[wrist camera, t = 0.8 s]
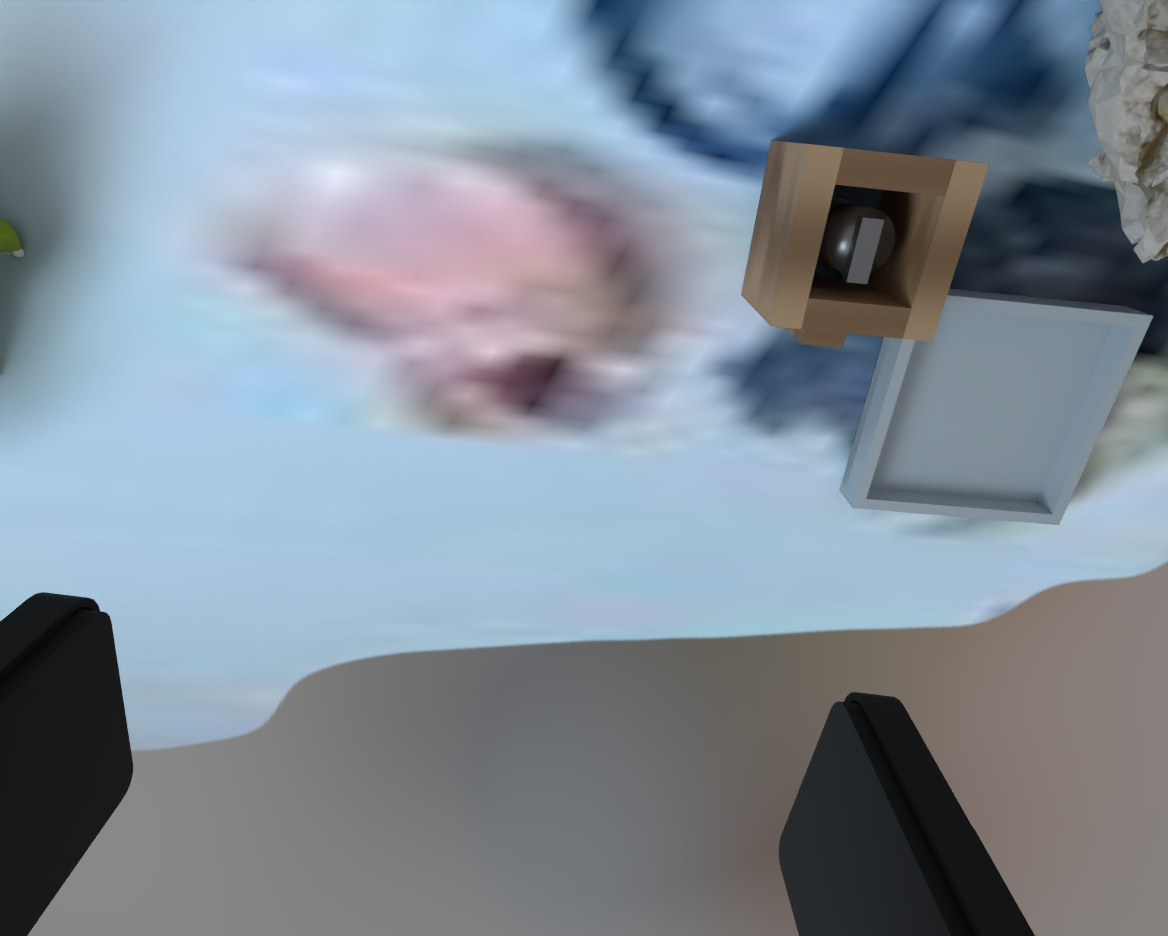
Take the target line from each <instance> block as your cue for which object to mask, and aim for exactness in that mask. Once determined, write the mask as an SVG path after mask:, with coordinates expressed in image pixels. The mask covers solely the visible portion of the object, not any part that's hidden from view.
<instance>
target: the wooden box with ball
mask: <svg viewBox="0 0 1168 936" xmlns="http://www.w3.org/2000/svg"><path fill="white" fill-rule="evenodd" d="M988 166H989V164H987V163H978V162H969V161H960V160H951V159H942V158H933V157H923V156H914V155H905V154H896V153H887V152H878V151H868V150H859V149H850V148H841V147H832V146H823V145H814V144H804V143H793V142H783V141H772V140H771V144H770V149H769V154H768V159H767V164H766V170H765V175H764V180H763V185H762V190H761V195H760V201H759V206H758V211H757V216H756V221H755V226H754V232H753V237H752V242H751V247H750V252H749V257H748V263H747V268H746V273H745V278H744V283H743V288H742V293H741V295H742V296H743V297H744V298H745V299H746V300H747V302H748V303H749V304H750V305H751V306H752V307H753V308H754V309H755V310H756V311H757V312H758V313H759V314H760V315H761V316H762V317H763V318H764V319H765V321H766V322H767V323H768V324H769V325H770V326H774V327H785V328H786V329H787V330H788V331H789V332H790V333H791V334H792V335H793V336H794V337H795V338H796V339H797V340H798V341H799V342H800V343H801V344H807V345H818V346H828V347H839V348H843V345H844V342H845V338H846V334H847V333H848V334H858V335H868V336H879V337H889V338H900V339H910V340H921V341H931V342H932V341H933V338H934V335H935V332H936V329H937V326H938V322H939V319H940V316H941V313H942V310H943V307H944V304H945V301H946V297H947V294H948V291H949V288H950V285H951V282H952V279H953V276H954V272H955V269H956V266H957V263H958V260H959V257H960V254H961V251H962V247H963V244H964V241H965V238H966V235H967V232H968V229H969V226H970V222H971V219H972V216H973V213H974V210H975V207H976V204H977V201H978V197H979V194H980V191H981V188H982V185H983V182H984V179H985V176H986V172H987V169H988ZM835 185H844V186H854V187H863V188H873V189H882V190H884V191H883V195H882V199H881V203H880V207H879V210H880V211H882V212H883V213H885V214H886V215H887V216H888V217H889V218H890V220H891V221H892V223H893V226H894V229H895V244H894V248H893V250H892V253H891V255H890V256H889V258H888V260H887V261H886V262H885V263H884V264H883V265H882V266H881V267H880V268H879V269H878V270H876V271H875V272H873V273H871V274H870V276H869V279H868V283H867V284H860V283H850V282H845V281H844V280H842V278H839V277H829V276H819V275H814V272H815V268H816V264H817V260H818V255H819V251H820V247H821V243H822V238H823V234H824V230H825V226H826V221H827V217H828V213H829V209H830V204H831V200H832V196H833V192H834V187H835Z"/></svg>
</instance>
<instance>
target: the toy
mask: <svg viewBox="0 0 1168 936" xmlns="http://www.w3.org/2000/svg"><path fill="white" fill-rule="evenodd" d="M0 252H3V253H5V254H11V253H12V254H13V255H14V256H15V257H18V258H19V257H23V256H24V254H25V253H24V250H23V249H22V248H21V244H20V241H19V238H18V236H17V234H16V232H15V230H14V228H13V227H12V226H11V225H10V224H9V223H7V222H5V221H4V220H1V219H0Z"/></svg>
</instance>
